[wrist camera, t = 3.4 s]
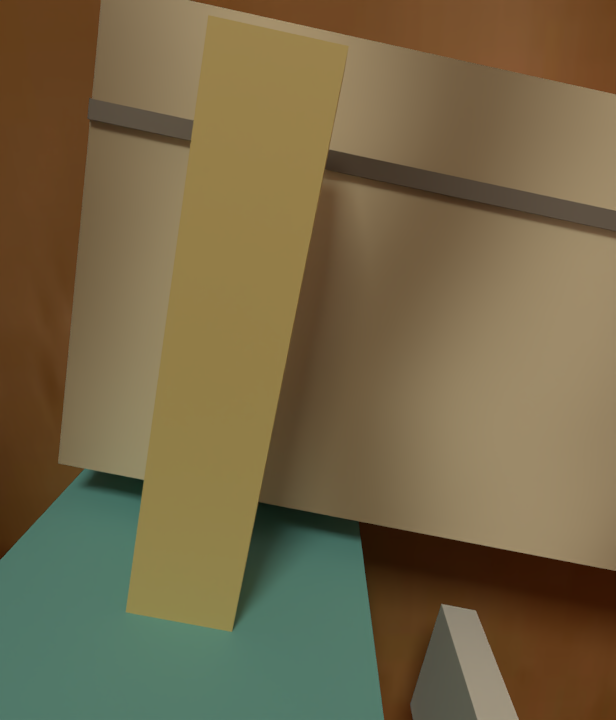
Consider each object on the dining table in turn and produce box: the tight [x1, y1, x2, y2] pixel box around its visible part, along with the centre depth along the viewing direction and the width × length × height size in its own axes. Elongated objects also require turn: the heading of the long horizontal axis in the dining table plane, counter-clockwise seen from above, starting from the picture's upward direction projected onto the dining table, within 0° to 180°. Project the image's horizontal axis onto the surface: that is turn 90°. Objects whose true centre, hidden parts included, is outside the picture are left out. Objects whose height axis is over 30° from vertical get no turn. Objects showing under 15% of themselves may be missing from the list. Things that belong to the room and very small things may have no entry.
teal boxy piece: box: [0, 15, 384, 720], centre depth 8 cm, size 6×13×10 cm, turn 168°
